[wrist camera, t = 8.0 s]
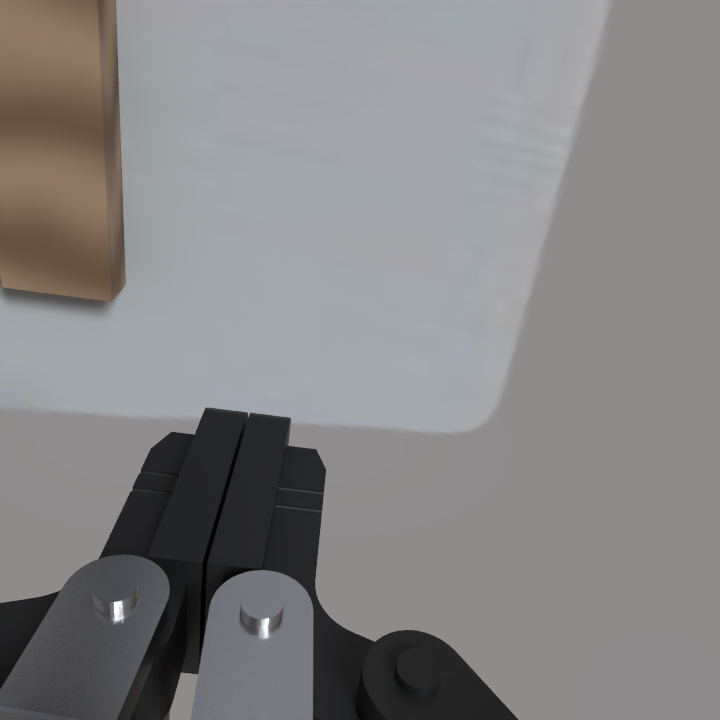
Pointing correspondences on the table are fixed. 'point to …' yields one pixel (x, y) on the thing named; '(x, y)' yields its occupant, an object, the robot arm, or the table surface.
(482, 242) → the table surface
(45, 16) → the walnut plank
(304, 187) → the table surface
